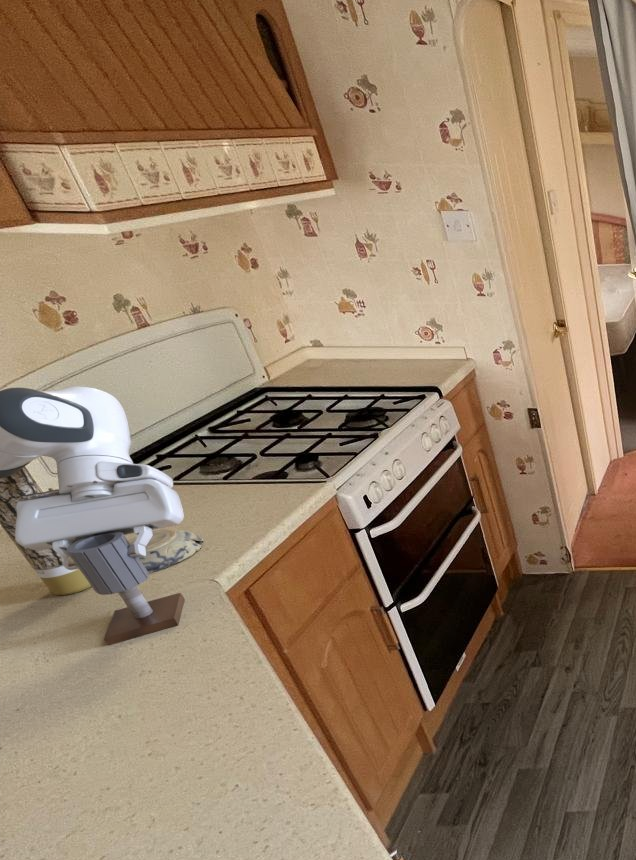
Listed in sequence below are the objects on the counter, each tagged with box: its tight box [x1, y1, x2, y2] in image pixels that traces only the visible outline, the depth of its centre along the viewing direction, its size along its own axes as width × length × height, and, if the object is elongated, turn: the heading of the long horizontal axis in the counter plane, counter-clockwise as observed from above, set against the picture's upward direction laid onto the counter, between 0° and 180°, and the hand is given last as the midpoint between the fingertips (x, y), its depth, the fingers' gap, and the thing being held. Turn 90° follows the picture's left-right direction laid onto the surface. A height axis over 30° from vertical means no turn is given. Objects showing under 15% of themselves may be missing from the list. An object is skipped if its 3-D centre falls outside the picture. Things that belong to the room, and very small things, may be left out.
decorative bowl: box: [127, 528, 204, 574], centre depth 132 cm, size 15×4×15 cm
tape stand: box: [103, 586, 186, 646], centre depth 112 cm, size 9×9×9 cm
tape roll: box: [66, 531, 150, 596], centre depth 108 cm, size 7×7×8 cm
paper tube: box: [0, 466, 92, 596], centre depth 118 cm, size 7×7×25 cm
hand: (106, 562), depth 108 cm, fingers closed on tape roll, 7 cm apart
